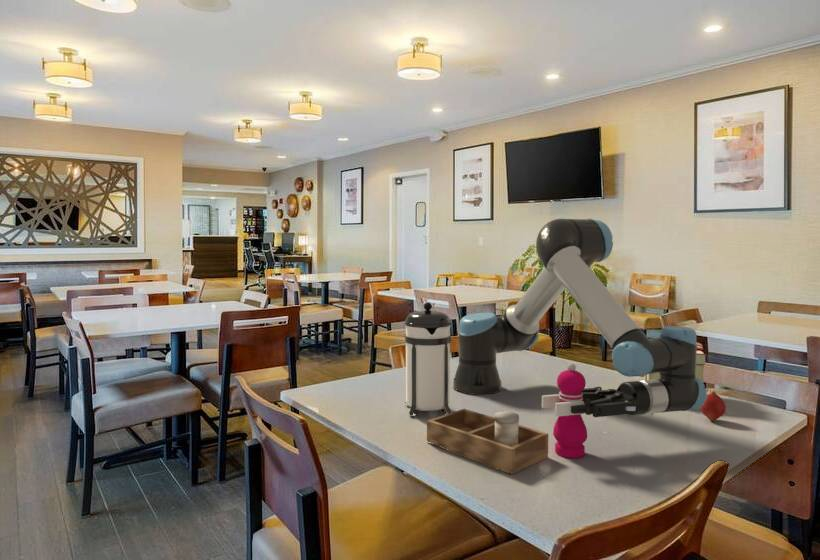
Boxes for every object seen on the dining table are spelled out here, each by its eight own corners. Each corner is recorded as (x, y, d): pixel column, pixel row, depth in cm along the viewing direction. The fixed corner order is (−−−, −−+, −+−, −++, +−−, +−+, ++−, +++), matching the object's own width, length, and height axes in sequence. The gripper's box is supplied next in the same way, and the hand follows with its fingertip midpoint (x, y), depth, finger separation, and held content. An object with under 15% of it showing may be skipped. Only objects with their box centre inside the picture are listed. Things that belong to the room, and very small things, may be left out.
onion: (694, 417, 144) (695, 387, 143) (715, 416, 145) (716, 387, 144) (708, 424, 138) (709, 393, 138) (730, 424, 139) (731, 393, 138)
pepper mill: (588, 460, 116) (591, 368, 114) (553, 457, 117) (555, 366, 116) (584, 447, 123) (586, 360, 122) (551, 445, 124) (553, 359, 123)
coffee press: (468, 409, 151) (468, 301, 149) (430, 423, 140) (430, 307, 138) (421, 397, 163) (421, 297, 161) (383, 409, 152) (382, 301, 149)
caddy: (426, 442, 126) (426, 403, 126) (464, 429, 135) (464, 392, 135) (511, 474, 109) (512, 429, 108) (548, 457, 118) (548, 415, 117)
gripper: (668, 426, 116) (571, 437, 110) (615, 402, 133) (529, 410, 127) (670, 391, 115) (572, 400, 109) (616, 372, 132) (529, 378, 126)
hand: (549, 405), depth 118 cm, fingers closed on pepper mill, 5 cm apart
